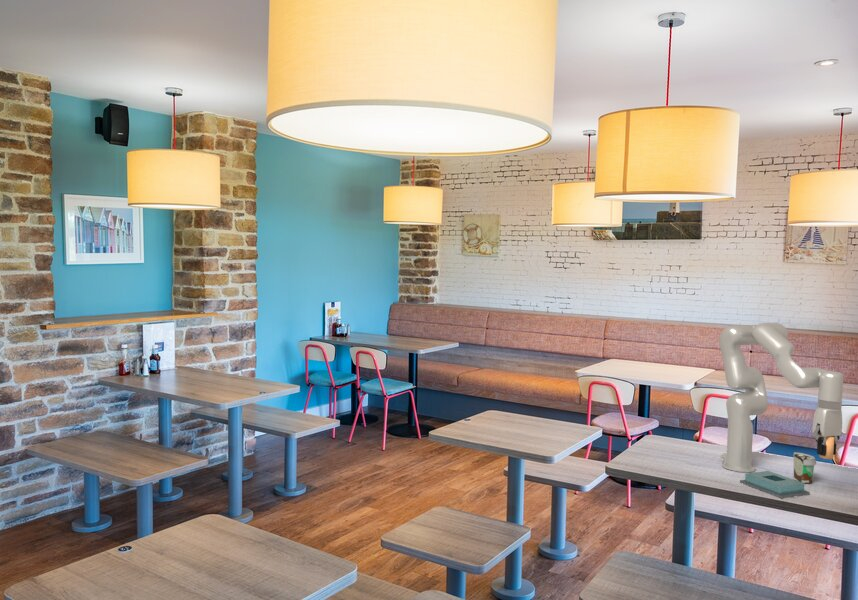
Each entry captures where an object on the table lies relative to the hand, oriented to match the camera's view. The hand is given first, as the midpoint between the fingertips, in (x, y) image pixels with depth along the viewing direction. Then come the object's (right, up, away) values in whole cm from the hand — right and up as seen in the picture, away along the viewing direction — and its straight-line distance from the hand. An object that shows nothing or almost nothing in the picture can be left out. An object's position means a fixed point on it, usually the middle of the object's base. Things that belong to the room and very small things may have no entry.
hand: (826, 453), depth 246 cm
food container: (+3, -16, +19) cm, 25 cm away
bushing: (0, -1, 0) cm, 1 cm away
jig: (-15, -15, +9) cm, 23 cm away
